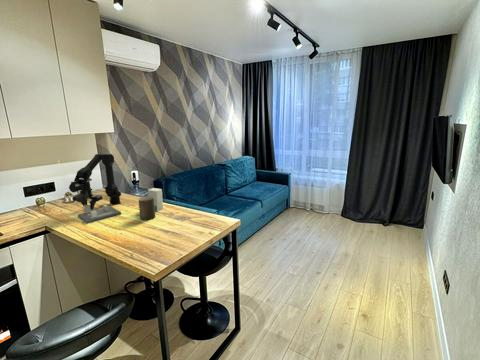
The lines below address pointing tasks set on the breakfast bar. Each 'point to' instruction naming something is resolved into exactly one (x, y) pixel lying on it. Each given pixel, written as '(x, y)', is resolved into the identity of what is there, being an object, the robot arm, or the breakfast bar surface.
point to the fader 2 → (105, 207)
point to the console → (99, 215)
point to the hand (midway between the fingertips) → (89, 209)
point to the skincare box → (156, 198)
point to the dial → (88, 209)
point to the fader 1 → (93, 214)
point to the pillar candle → (146, 208)
